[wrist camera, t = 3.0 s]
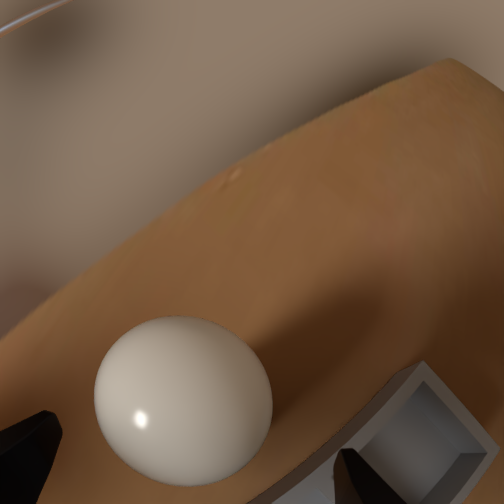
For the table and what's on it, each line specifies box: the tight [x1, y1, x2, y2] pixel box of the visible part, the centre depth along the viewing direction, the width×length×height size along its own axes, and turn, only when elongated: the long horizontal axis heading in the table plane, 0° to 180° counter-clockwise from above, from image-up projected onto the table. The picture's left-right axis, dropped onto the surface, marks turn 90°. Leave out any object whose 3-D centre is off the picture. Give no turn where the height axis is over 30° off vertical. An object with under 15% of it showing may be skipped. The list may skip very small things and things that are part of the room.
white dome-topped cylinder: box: [94, 315, 273, 487], centre depth 11 cm, size 5×5×12 cm
